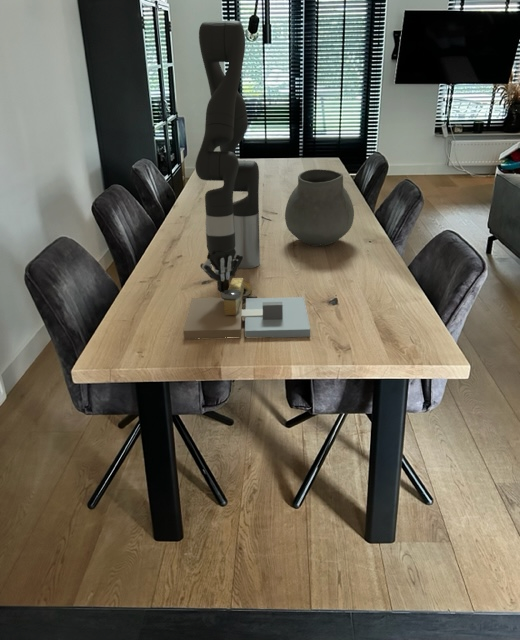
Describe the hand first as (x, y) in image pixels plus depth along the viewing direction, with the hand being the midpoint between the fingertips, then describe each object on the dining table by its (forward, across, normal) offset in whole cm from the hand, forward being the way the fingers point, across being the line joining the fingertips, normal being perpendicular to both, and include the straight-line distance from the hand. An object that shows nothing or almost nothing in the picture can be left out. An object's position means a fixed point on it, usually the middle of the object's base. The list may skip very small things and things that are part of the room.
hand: (223, 292), depth 155 cm
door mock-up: (+4, +1, +10) cm, 11 cm away
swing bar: (+2, 0, +5) cm, 5 cm away
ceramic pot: (+4, -59, -22) cm, 64 cm away
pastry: (+5, -10, -6) cm, 12 cm away
